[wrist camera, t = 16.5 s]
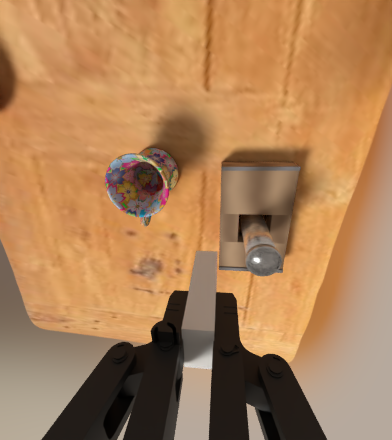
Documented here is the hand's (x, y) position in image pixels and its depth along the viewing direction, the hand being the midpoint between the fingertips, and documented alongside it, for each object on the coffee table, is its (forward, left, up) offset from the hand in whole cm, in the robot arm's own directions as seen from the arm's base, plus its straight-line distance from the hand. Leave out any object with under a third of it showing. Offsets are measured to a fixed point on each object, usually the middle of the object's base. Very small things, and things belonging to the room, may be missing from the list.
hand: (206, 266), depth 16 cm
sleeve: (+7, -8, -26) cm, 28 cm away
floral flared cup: (-11, 0, -27) cm, 29 cm away
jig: (+7, -7, -26) cm, 28 cm away
